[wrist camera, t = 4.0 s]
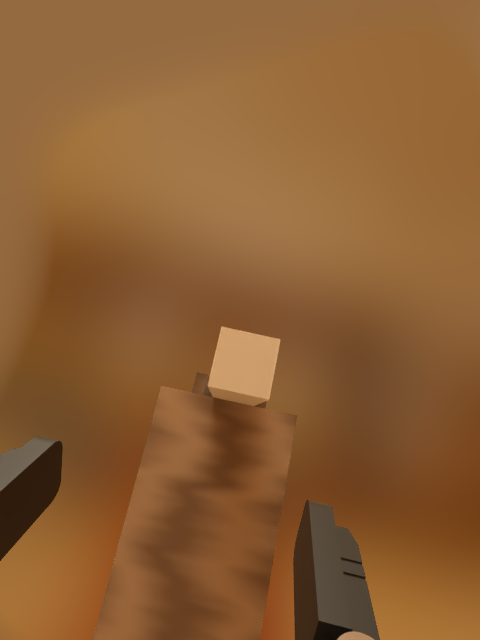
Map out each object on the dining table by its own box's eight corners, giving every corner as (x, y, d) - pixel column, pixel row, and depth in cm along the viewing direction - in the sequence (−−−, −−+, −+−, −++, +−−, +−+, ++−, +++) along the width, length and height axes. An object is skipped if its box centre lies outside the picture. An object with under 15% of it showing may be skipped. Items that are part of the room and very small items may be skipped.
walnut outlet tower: (211, 816, 29) (284, 404, 38) (183, 1105, 17) (300, 394, 26) (92, 778, 30) (190, 384, 39) (-19, 1026, 18) (163, 365, 27)
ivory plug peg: (245, 409, 35) (251, 379, 36) (269, 399, 17) (280, 339, 18) (215, 403, 35) (222, 373, 36) (207, 386, 17) (221, 326, 18)
